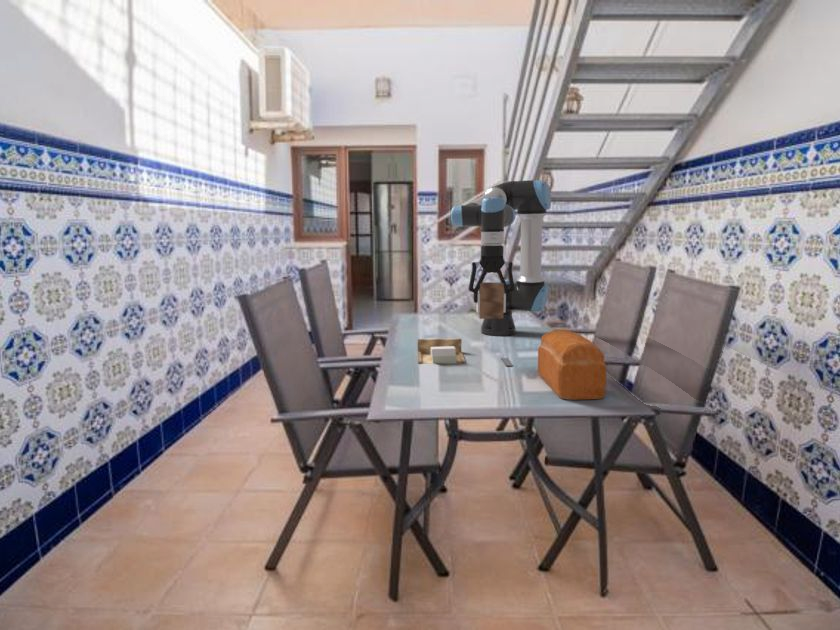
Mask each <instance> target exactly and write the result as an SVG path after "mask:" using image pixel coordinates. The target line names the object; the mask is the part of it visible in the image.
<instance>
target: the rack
mask: <svg viewBox="0 0 840 630" xmlns="http://www.w3.org/2000/svg"><path fill="white" fill-rule="evenodd" d="M442 346H454V347H455V353H456V356H457V359H456V363H455V364H466V360H465V358H464V357H465V356H464V354H463V352H462V338H417V364H419V365H420V364H422V365H423V364H425V365H432V364H433V365H435V364H438V365H439V364H441V365H442V364H444V365H445V364H448V365H449V364H450V363H433V356H432V355H431V347H442Z"/></svg>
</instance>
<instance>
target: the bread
mask: <svg viewBox="0 0 840 630" xmlns="http://www.w3.org/2000/svg"><path fill="white" fill-rule="evenodd" d="M537 372H538V376H539V377H540V378H541V379H542V380H543V382H545V384H546V385H547V386H548V387H549V388H550V389H551V390H552V391H553V392H554V393H555V394H556V395H557V396H558V397H559V398H560V399H561V400H562V399H563V400H568V401H569V400H571V401H572V400H579V401H582V400H583V401H585V400H599V399H602V398H604V397H605V396H606V389H607V388H606V386H607V377H608V375H607V364H606V362H605V355H604V353H603V352H602V350H600V348H599V347H598V346H597V345H596V344H595V343H594V342H592V341H591V340H589V339H588V338H586V337H584V336H583V335H581V334H579V333H578V332H574V331H573V330H572V331H571V330H568V329H554V330H551V331H548V332H545V333H544V334H543V335H542V336H541V338H540V345H539V347H538V349H537Z"/></svg>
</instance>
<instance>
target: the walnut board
mask: <svg viewBox="0 0 840 630" xmlns="http://www.w3.org/2000/svg"><path fill="white" fill-rule="evenodd" d="M478 293H480V313H478V319H479V320H481V319H483V320H484V319H503V309H504V283H501V282H491V281H488V282H487V281H486V282H484V281H483V282H482V283H480V289H479V291H478Z"/></svg>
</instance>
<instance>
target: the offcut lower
mask: <svg viewBox="0 0 840 630" xmlns="http://www.w3.org/2000/svg"><path fill="white" fill-rule="evenodd" d="M456 359H457V356H456V353H455V356H433V363H449V364H457V363H456Z"/></svg>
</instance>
